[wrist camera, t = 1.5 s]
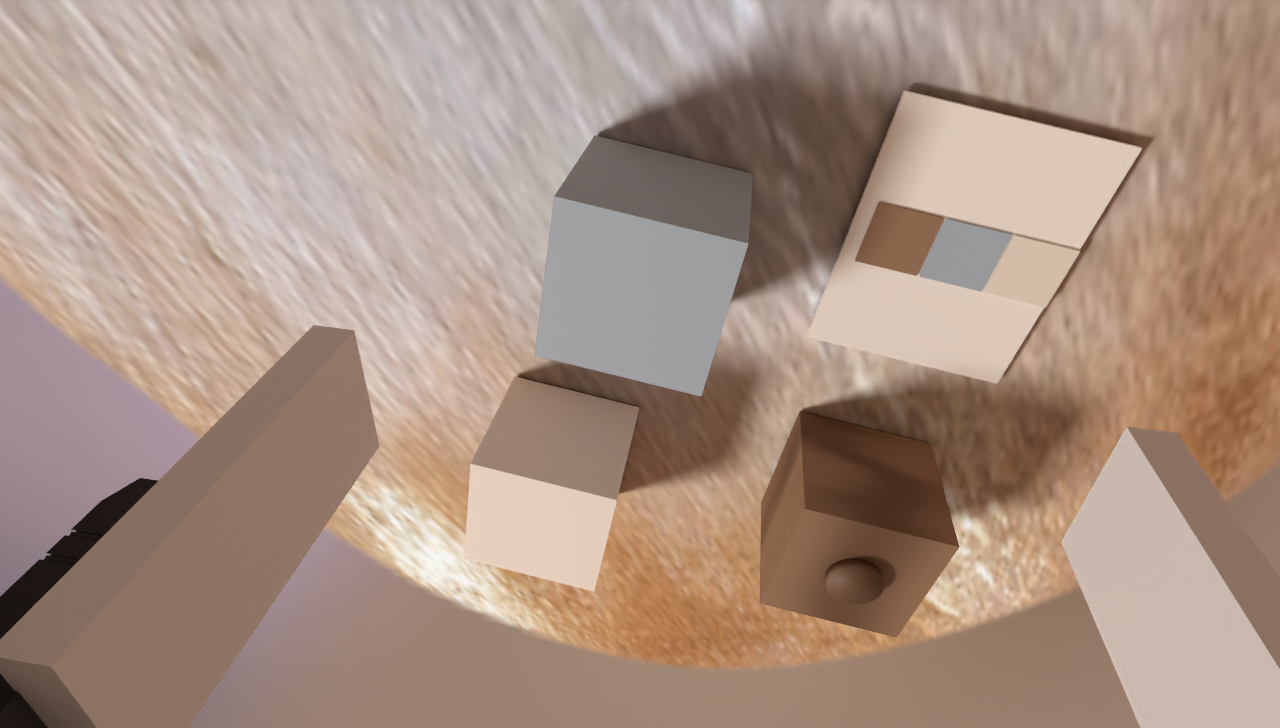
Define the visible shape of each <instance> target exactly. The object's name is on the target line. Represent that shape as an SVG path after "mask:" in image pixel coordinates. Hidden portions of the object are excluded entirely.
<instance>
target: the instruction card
mask: <svg viewBox="0 0 1280 728" xmlns="http://www.w3.org/2000/svg"><path fill="white" fill-rule="evenodd" d="M1141 150H1142V148H1141V147H1140V146H1136V145H1132V144H1128V143H1124V142H1120V141H1115V140H1111V139H1107V138H1103V137H1099V136H1095V135H1091V134H1086V133H1082V132H1078V131H1074V130H1070V129H1066V128H1061V127H1057V126H1053V125H1049V124H1045V123H1041V122H1036V121H1032V120H1028V119H1024V118H1020V117H1016V116H1011V115H1007V114H1003V113H999V112H995V111H991V110H986V109H982V108H978V107H974V106H970V105H966V104H961V103H957V102H953V101H949V100H945V99H941V98H936V97H932V96H928V95H924V94H920V93H916V92H911V91H907V90H904V91H903V93H902V96H901V98H900V101H899V103H898V106H897V108H896V111H895V114H894V116H893V119H892V121H891V124H890V126H889V129H888V131H887V134H886V136H885V139H884V141H883V144H882V146H881V149H880V151H879V154H878V156H877V159H876V162H875V164H874V167H873V169H872V172H871V174H870V177H869V179H868V182H867V184H866V187H865V189H864V192H863V194H862V197H861V199H860V202H859V204H858V207H857V210H856V212H855V215H854V217H853V220H852V222H851V225H850V227H849V230H848V232H847V235H846V237H845V240H844V242H843V245H842V247H841V250H840V252H839V255H838V258H837V260H836V263H835V265H834V268H833V270H832V273H831V275H830V278H829V280H828V283H827V285H826V288H825V290H824V293H823V295H822V298H821V300H820V303H819V305H818V308H817V311H816V313H815V316H814V318H813V321H812V323H811V326H810V328H809V331H808V333H807V337H808V338H812V339H816V340H820V341H825V342H829V343H833V344H837V345H841V346H845V347H849V348H853V349H857V350H861V351H865V352H869V353H873V354H877V355H882V356H886V357H890V358H894V359H898V360H902V361H906V362H910V363H914V364H918V365H922V366H926V367H930V368H934V369H938V370H943V371H947V372H951V373H955V374H959V375H963V376H967V377H971V378H975V379H979V380H983V381H987V382H991V383H995V384H997V383H998V382H999V380H1000V379H1001V377H1002V375H1003V374H1004V372H1005V370H1006V369H1007V367H1008V366H1009V364H1010V362H1011V361H1012V359H1013V357H1014V356H1015V354H1016V353H1017V351H1018V349H1019V348H1020V346H1021V344H1022V343H1023V341H1024V340H1025V338H1026V336H1027V335H1028V333H1029V331H1030V330H1031V328H1032V327H1033V325H1034V323H1035V322H1036V320H1037V318H1038V317H1039V315H1040V314H1041V312H1042V310H1043V309H1044V307H1045V308H1046V307H1047V305H1048V303H1049V302H1050V300H1051V298H1052V297H1053V295H1054V294H1055V292H1056V290H1057V289H1058V287H1059V285H1060V284H1061V282H1062V281H1063V279H1064V277H1065V276H1066V274H1067V273H1068V271H1069V269H1070V268H1071V266H1072V264H1073V263H1074V261H1075V260H1076V258H1077V256H1078V255H1079V253H1080V249H1081V247H1082V245H1083V244H1084V242H1085V241H1086V239H1087V237H1088V236H1089V234H1090V232H1091V231H1092V229H1093V228H1094V226H1095V224H1096V223H1097V221H1098V219H1099V218H1100V216H1101V215H1102V213H1103V211H1104V210H1105V208H1106V206H1107V205H1108V203H1109V202H1110V200H1111V198H1112V197H1113V195H1114V193H1115V192H1116V190H1117V189H1118V187H1119V185H1120V184H1121V182H1122V181H1123V179H1124V177H1125V176H1126V174H1127V172H1128V171H1129V169H1130V168H1131V166H1132V164H1133V163H1134V161H1135V159H1136V158H1137V156H1138V155H1139V153H1140V151H1141Z"/></svg>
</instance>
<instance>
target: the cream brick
mask: <svg viewBox="0 0 1280 728" xmlns="http://www.w3.org/2000/svg"><path fill="white" fill-rule="evenodd" d="M639 408H640V407H636V406H632V405H628V404H624V403H619V402H615V401H611V400H607V399H603V398H599V397H595V396H591V395H587V394H583V393H579V392H575V391H571V390H567V389H563V388H559V387H555V386H551V385H547V384H543V383H539V382H535V381H531V380H527V379H523V378H519V377H514V379H513V381H512V383H511V385H510V387H509V389H508V391H507V393H506V395H505V397H504V399H503V401H502V403H501V405H500V407H499V409H498V411H497V413H496V415H495V417H494V419H493V421H492V423H491V425H490V427H489V429H488V431H487V433H486V434H485V436H484V438H483V440H482V442H481V444H480V446H479V448H478V450H477V452H476V454H475V456H474V458H473V460H472V462H471V467H470V482H469V496H468V510H467V525H466V539H465V553H464V559H467V560H471V561H475V562H479V563H483V564H487V565H491V566H495V567H499V568H503V569H507V570H511V571H515V572H519V573H523V574H527V575H531V576H535V577H539V578H543V579H547V580H551V581H555V582H559V583H563V584H566V585H570V586H574V587H578V588H582V589H586V590H590V591H594V590H595V586H596V582H597V578H598V574H599V570H600V566H601V562H602V558H603V554H604V550H605V546H606V542H607V538H608V534H609V530H610V526H611V522H612V518H613V514H614V510H615V506H616V502H617V498H618V494H619V490H620V486H621V481H622V477H623V473H624V469H625V465H626V461H627V457H628V453H629V449H630V445H631V441H632V437H633V433H634V429H635V424H636V420H637V416H638V412H639Z"/></svg>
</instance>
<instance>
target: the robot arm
mask: <svg viewBox="0 0 1280 728" xmlns="http://www.w3.org/2000/svg"><path fill="white" fill-rule="evenodd" d="M378 447H379V442H378V438H377V433H376V428H375V424H374V419H373V415H372V410H371V405H370V401H369V396H368V392H367V387H366V383H365V378H364V373H363V369H362V364H361V360H360V355H359V351H358V346H357V341H356V337H355V332H354V330H347V329H339V328H331V327H323V326H315V325H314V326H313V327H312V328H311V329H310V330H309V331H308V332H307V333H306V334H305V335H304V336H303V337H302V338H301V339H300V340H299V341H298V342H297V343H296V344H295V345H294V346H293V347H292V348H291V349H290V350H289V351H288V352H287V353H286V354H285V355H284V356H283V357H282V358H281V359H280V360H279V361H278V362H277V363H276V364H275V365H274V366H273V367H272V368H271V369H270V370H269V371H268V372H267V373H266V374H265V375H264V376H263V377H262V378H261V379H260V380H259V381H258V382H257V383H256V384H255V385H254V386H253V387H252V388H251V389H250V390H249V391H248V392H247V393H246V394H245V395H244V396H243V397H242V398H241V399H240V400H239V401H238V402H237V403H236V404H235V405H234V406H233V407H232V408H231V409H230V410H229V411H228V412H227V413H226V414H225V415H224V416H223V417H222V418H221V419H220V420H219V421H218V422H217V423H216V424H215V425H214V426H213V427H212V428H211V429H210V430H209V431H208V432H207V433H206V434H205V435H204V436H203V437H202V438H201V439H200V440H199V441H198V442H197V443H196V444H195V445H194V446H193V447H192V448H191V449H190V450H189V451H188V452H187V453H186V454H185V455H184V456H183V457H182V458H181V459H180V460H179V461H178V462H177V463H176V464H175V465H174V466H173V467H172V468H171V469H170V470H169V471H168V472H167V473H166V474H165V475H164V476H163V477H162V478H161V479H160V480H159V481H156V480H150V479H143V478H140V479H138V480H136V481H134V482H133V483H131V484H129V485H128V486H126V487H124V488H123V489H121V490H119V491H117V492H116V493H114V494H112V495H111V496H109V497H107V498H106V499H104V500H102V501H101V502H100V503H99V504H98V505H97V506H96V507H94V508H93V509H92V510H91V511H90V512H89V513H88V514H87V515H86V516H85V517H84V518H83V519H82V520H81V521H80V522H79V523H78V524H77V525H75V526H74V527H73V528H72V529H71V534H70V535H69V536H66V535H65V536H64V537H63V538H62V539H61V540H60V541H59V542H58V543H57V544H55V545H54V546H53V547H52V548H51V549H50V550H49V551H48V552H47V553H46V558H45V559H44V560H38V561H37V562H36V563H35V564H34V565H33V566H32V567H31V568H30V569H29V570H28V571H27V572H26V573H25V574H24V575H23V576H22V577H21V578H20V579H19V580H17V581H16V582H15V583H14V584H13V585H12V586H11V587H10V588H9V589H8V590H7V591H6V592H5V593H4V594H3V595H2V596H0V728H189V726H190V725H191V723H192V722H193V720H194V719H195V717H196V716H197V714H198V713H199V712H200V710H201V709H202V707H203V706H204V704H205V703H206V701H207V699H208V698H209V697H210V695H211V694H212V692H213V691H214V689H215V688H216V686H217V685H218V683H219V682H220V681H221V679H222V678H223V676H224V675H225V673H226V671H227V670H228V669H229V667H230V666H231V664H232V663H233V661H234V660H235V658H236V657H237V655H238V654H239V652H240V651H241V649H242V648H243V646H244V645H245V643H246V642H247V641H248V639H249V638H250V636H251V635H252V633H253V632H254V630H255V629H256V627H257V626H258V624H259V623H260V621H261V620H262V618H263V617H264V616H265V614H266V613H267V611H268V610H269V608H270V607H271V605H272V604H273V602H274V601H275V599H276V598H277V596H278V595H279V593H280V592H281V590H282V589H283V587H284V586H285V584H286V583H287V582H288V580H289V579H290V577H291V576H292V574H293V573H294V571H295V570H296V568H297V567H298V565H299V564H300V562H301V561H302V559H303V558H304V557H305V555H306V554H307V552H308V551H309V549H310V547H311V546H312V545H313V543H314V542H315V540H316V539H317V537H318V536H319V534H320V533H321V531H322V530H323V528H324V527H325V526H326V524H327V523H328V521H329V520H330V518H331V517H332V515H333V514H334V512H335V511H336V509H337V508H338V506H339V505H340V503H341V502H342V500H343V499H344V497H345V496H346V494H347V493H348V492H349V490H350V489H351V487H352V486H353V484H354V483H355V481H356V480H357V478H358V477H359V475H360V474H361V472H362V471H363V469H364V468H365V466H366V465H367V463H368V462H369V461H370V459H371V458H372V456H373V455H374V453H375V452H376V450H377V449H378ZM1061 543H1062V545H1063V548H1064V550H1065V552H1066V555H1067V557H1068V559H1069V562H1070V564H1071V566H1072V569H1073V571H1074V573H1075V576H1076V578H1077V580H1078V583H1079V585H1080V587H1081V590H1082V592H1083V594H1084V597H1085V599H1086V601H1087V604H1088V606H1089V608H1090V611H1091V613H1092V615H1093V618H1094V620H1095V622H1096V625H1097V627H1098V629H1099V632H1100V634H1101V637H1102V639H1103V641H1104V644H1105V646H1106V648H1107V651H1108V653H1109V655H1110V657H1111V660H1112V662H1113V664H1114V667H1115V669H1116V672H1117V674H1118V676H1119V679H1120V681H1121V683H1122V686H1123V688H1124V690H1125V693H1126V695H1127V697H1128V700H1129V702H1130V704H1131V707H1132V709H1133V711H1134V714H1135V716H1136V718H1137V721H1138V723H1139V725H1140V728H1280V577H1279V575H1278V574H1277V573H1276V571H1275V570H1274V568H1273V567H1272V566H1271V564H1270V563H1269V561H1268V560H1267V559H1266V557H1265V556H1264V554H1263V553H1262V552H1261V550H1260V549H1259V548H1258V546H1257V545H1256V543H1255V542H1254V540H1253V539H1252V538H1251V536H1250V535H1249V533H1248V532H1247V531H1246V529H1245V528H1244V527H1243V525H1242V523H1241V522H1240V521H1239V519H1238V518H1237V516H1236V515H1235V514H1234V512H1233V511H1232V509H1231V508H1230V507H1229V505H1228V504H1227V502H1226V501H1225V500H1224V498H1223V497H1222V495H1221V494H1220V493H1219V491H1218V490H1217V488H1216V487H1215V486H1214V484H1213V483H1212V481H1211V480H1210V479H1209V477H1208V476H1207V474H1206V473H1205V472H1204V470H1203V469H1202V467H1201V466H1200V465H1199V463H1198V462H1197V460H1196V459H1195V458H1194V456H1193V455H1192V453H1191V452H1190V451H1189V449H1188V448H1187V446H1186V445H1185V444H1184V442H1183V441H1182V439H1181V438H1180V437H1179V435H1178V434H1177V433H1172V432H1164V431H1156V430H1148V429H1140V428H1132V427H1126V429H1125V431H1124V432H1123V434H1122V436H1121V438H1120V439H1119V441H1118V443H1117V445H1116V447H1115V448H1114V450H1113V452H1112V454H1111V455H1110V457H1109V459H1108V461H1107V462H1106V464H1105V466H1104V468H1103V469H1102V471H1101V473H1100V475H1099V476H1098V478H1097V480H1096V482H1095V483H1094V485H1093V487H1092V489H1091V490H1090V492H1089V494H1088V496H1087V497H1086V499H1085V501H1084V503H1083V504H1082V506H1081V508H1080V510H1079V512H1078V513H1077V515H1076V517H1075V519H1074V520H1073V522H1072V524H1071V526H1070V527H1069V529H1068V531H1067V533H1066V534H1065V536H1064V538H1063V540H1062V541H1061Z"/></svg>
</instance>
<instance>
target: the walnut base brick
mask: <svg viewBox="0 0 1280 728" xmlns="http://www.w3.org/2000/svg"><path fill="white" fill-rule="evenodd" d="M958 548H959V544H958V541H957V537H956V534H955V530H954V526H953V523H952V519H951V515H950V512H949V508H948V505H947V501H946V497H945V494H944V490H943V486H942V483H941V479H940V476H939V472H938V468H937V465H936V461H935V457H934V454H933V450H932V447H931V444H930V443H926V442H922V441H918V440H914V439H910V438H906V437H902V436H898V435H894V434H890V433H886V432H882V431H877V430H873V429H869V428H865V427H861V426H857V425H853V424H849V423H845V422H841V421H837V420H833V419H829V418H825V417H821V416H817V415H813V414H809V413H805V412H801V411H800V412H799V415H798V417H797V419H796V422H795V424H794V426H793V429H792V431H791V433H790V436H789V438H788V441H787V443H786V445H785V448H784V450H783V452H782V455H781V457H780V460H779V462H778V464H777V467H776V469H775V471H774V474H773V476H772V479H771V481H770V483H769V486H768V488H767V490H766V493H765V495H764V497H763V500H762V502H761V561H760V603H761V604H765V605H769V606H773V607H777V608H781V609H785V610H789V611H793V612H797V613H801V614H805V615H809V616H813V617H817V618H821V619H825V620H829V621H833V622H837V623H841V624H845V625H849V626H853V627H857V628H861V629H865V630H869V631H873V632H877V633H881V634H885V635H889V636H893V637H897V636H898V634H899V633H900V632H901V630H902V629H903V627H904V626H905V624H906V623H907V622H908V620H909V619H910V617H911V616H912V614H913V613H914V612H915V610H916V609H917V607H918V606H919V604H920V603H921V601H922V600H923V599H924V597H925V596H926V594H927V593H928V591H929V590H930V589H931V587H932V586H933V584H934V583H935V581H936V580H937V578H938V577H939V576H940V574H941V573H942V571H943V570H944V568H945V567H946V566H947V564H948V563H949V561H950V560H951V558H952V557H953V555H954V554H955V553H956V551H957V550H958Z"/></svg>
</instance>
